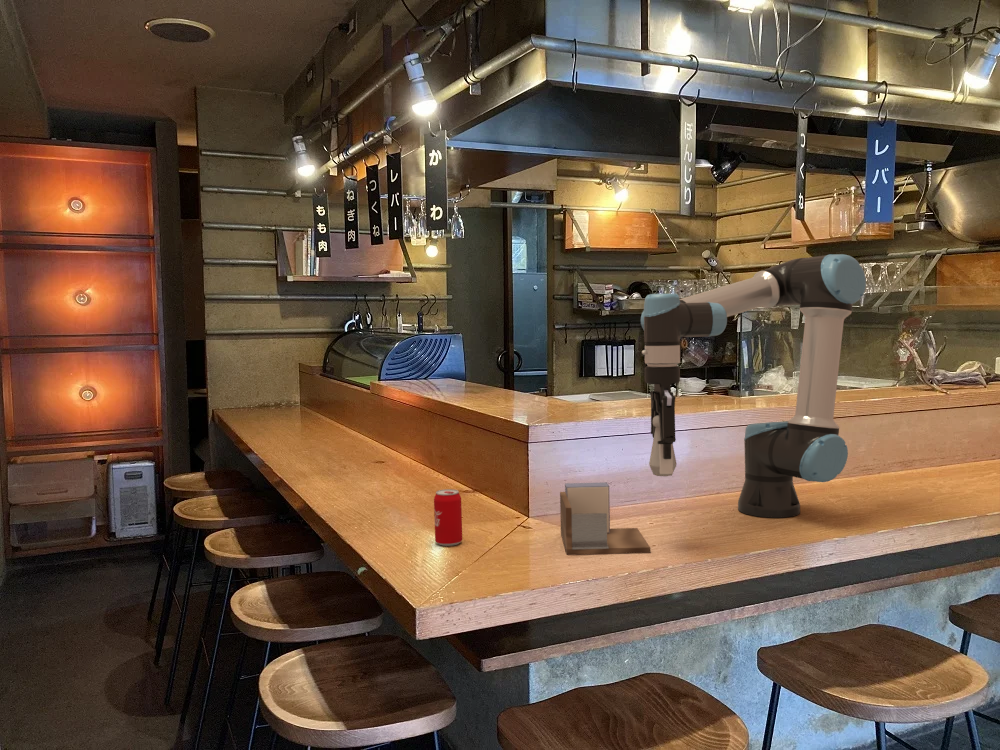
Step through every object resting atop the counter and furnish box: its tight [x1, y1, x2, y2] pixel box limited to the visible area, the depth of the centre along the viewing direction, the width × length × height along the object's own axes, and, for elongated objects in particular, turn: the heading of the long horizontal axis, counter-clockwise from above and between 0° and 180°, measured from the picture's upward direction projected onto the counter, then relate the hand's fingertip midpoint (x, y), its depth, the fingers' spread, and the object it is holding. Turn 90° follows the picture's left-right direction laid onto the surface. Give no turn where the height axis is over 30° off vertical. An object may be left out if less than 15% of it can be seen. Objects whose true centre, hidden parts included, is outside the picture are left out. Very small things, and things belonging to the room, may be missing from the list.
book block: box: [564, 481, 611, 533], centre depth 184 cm, size 10×4×11 cm, turn 90°
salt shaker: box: [648, 415, 677, 477], centre depth 173 cm, size 6×6×13 cm
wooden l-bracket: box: [559, 491, 651, 556], centre depth 178 cm, size 18×16×10 cm
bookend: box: [572, 513, 609, 549], centre depth 171 cm, size 8×3×7 cm, turn 90°
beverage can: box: [433, 488, 463, 547], centre depth 181 cm, size 6×6×12 cm
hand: (662, 470), depth 173 cm, fingers closed on salt shaker, 6 cm apart
